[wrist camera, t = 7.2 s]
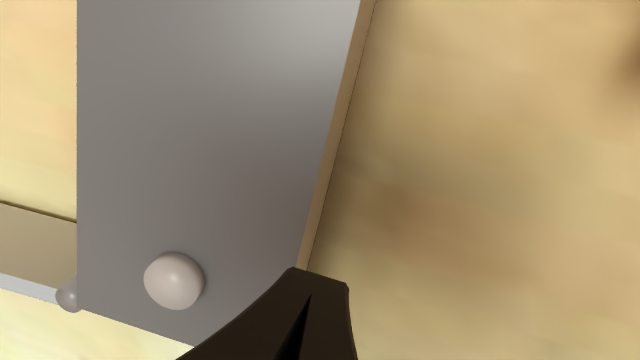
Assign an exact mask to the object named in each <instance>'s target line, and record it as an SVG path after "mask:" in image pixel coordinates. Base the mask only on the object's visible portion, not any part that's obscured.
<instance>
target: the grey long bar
mask: <svg viewBox="0 0 640 360" xmlns="http://www.w3.org/2000/svg"><path fill="white" fill-rule="evenodd" d="M0 288H2V289H5V290H9V291H12V292H16V293H19V294H23V295H26V296H29V297H33V298H36V299H40V300H43V301H47V302H50V303H53V304H57V305H60V306H61V307H62V308H63V309H64V310H66V311H68V312H72V313H75V312H79V311H80V310H81V309H80V308H77V223H73V222H69V221H65V220H62V219H58V218H54V217H51V216H47V215H43V214H39V213H36V212H32V211H28V210H24V209H21V208H17V207H13V206H9V205H6V204H2V203H0Z"/></svg>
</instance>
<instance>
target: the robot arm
mask: <svg viewBox="0 0 640 360" xmlns="http://www.w3.org/2000/svg"><path fill="white" fill-rule="evenodd" d="M176 360H358V358H357V353H356V348H355V343H354V339H353V333H352V327H351V319H350V311H349V288H348V286H347V284H346V283H344V282H341V281H338V280H335V279H331V278H328V277H325V276H322V275H318V274H315V273H312V272H309V271H306V270H302V269H299V268H296V267H291V268H288V269H287V270H286V271H285V272H284V273H283V274H282V275H281V276H280V278H279V279H278V280H277V281H276V282H275V283H274V284H273V285H272V286H271V287H270V288H269V289H268V290H267V291H265V292H264V293H263V294H262V295H261V296H260V297H259V298H258V299H257V300H256V301H254V302H253V303H252V304H251V305H250V306H248V307H247V308H246V309H245V310H244V311H243V312H241V313H240V314H239V315H238V316H237V317H235V318H234V319H233V320H232V321H230V322H229V323H228V324H226V325H225V326H223V327H222V328H221V329H219V330H218V331H217V332H215V333H214V334H213V335H211V336H210V337H209V338H207V339H206V340H205V341H203V342H202V343H200V344H199V345H197V346H196V347H194V348H193V349H191V350H190V351H188V352H187V353H185V354H184V355H182V356H180V357H179V358H177V359H176Z"/></svg>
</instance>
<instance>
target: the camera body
mask: <svg viewBox="0 0 640 360" xmlns="http://www.w3.org/2000/svg"><path fill="white" fill-rule="evenodd" d="M375 2H376V0H77V308H80V309H83V310H86V311H89V312H92V313H95V314H98V315H101V316H104V317H107V318H110V319H113V320H116V321H119V322H122V323H125V324H128V325H131V326H134V327H137V328H140V329H143V330H146V331H149V332H152V333H155V334H158V335H161V336H164V337H167V338H170V339H173V340H176V341H179V342H182V343H185V344H188V345H191V346H194V347H196V346H197V345H199V344H200V343H202V342H203V341H205V340H206V339H207V338H209V337H210V336H211V335H213V334H214V333H215V332H217V331H218V330H219V329H221V328H222V327H223V326H225V325H226V324H228V323H229V322H230V321H232V320H233V319H234V318H235V317H237V316H238V315H239V314H240V313H241V312H243V311H244V310H245V309H246V308H247V307H248V306H250V305H251V304H252V303H253V302H254V301H256V300H257V299H258V298H259V297H260V296H261V295H262V294H263V293H264V292H265V291H267V290H268V289H269V288H270V287H271V286H272V285H273V284H274V283H275V282H276V281H277V280H278V279H279V278H280V276H281V275H282V274H283V273H284V272H285V271H286V270H287V269H288V268H291V267H296V268H299V269H302V270H306V271H307V267H308V263H309V259H310V255H311V252H312V248H313V244H314V240H315V236H316V232H317V228H318V224H319V220H320V216H321V213H322V209H323V205H324V201H325V197H326V193H327V189H328V185H329V181H330V178H331V174H332V170H333V166H334V162H335V158H336V154H337V150H338V146H339V142H340V139H341V135H342V131H343V127H344V123H345V119H346V115H347V111H348V107H349V104H350V100H351V96H352V92H353V88H354V84H355V80H356V76H357V72H358V68H359V65H360V61H361V57H362V53H363V49H364V45H365V41H366V37H367V33H368V29H369V26H370V22H371V18H372V14H373V10H374V6H375Z"/></svg>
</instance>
